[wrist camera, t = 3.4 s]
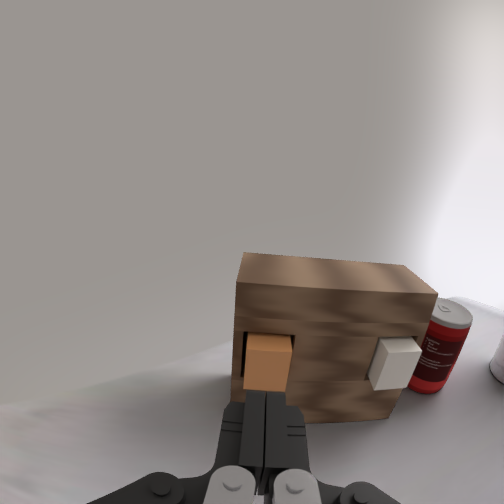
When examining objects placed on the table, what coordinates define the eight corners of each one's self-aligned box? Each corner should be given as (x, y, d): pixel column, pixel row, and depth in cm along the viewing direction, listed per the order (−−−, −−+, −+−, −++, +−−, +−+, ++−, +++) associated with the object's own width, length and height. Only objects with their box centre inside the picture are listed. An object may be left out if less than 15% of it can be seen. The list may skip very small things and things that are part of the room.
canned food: (424, 358, 38) (446, 295, 35) (453, 387, 30) (483, 319, 27) (387, 367, 36) (410, 298, 33) (416, 401, 29) (449, 328, 26)
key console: (370, 377, 34) (403, 265, 30) (388, 418, 27) (438, 293, 22) (236, 373, 35) (243, 252, 30) (229, 419, 27) (236, 281, 23)
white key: (390, 358, 28) (402, 324, 26) (406, 387, 23) (422, 350, 22) (361, 359, 28) (371, 324, 26) (374, 390, 23) (388, 352, 22)
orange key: (282, 358, 28) (288, 321, 27) (284, 391, 23) (292, 352, 22) (246, 355, 28) (249, 318, 27) (243, 388, 23) (246, 349, 22)
